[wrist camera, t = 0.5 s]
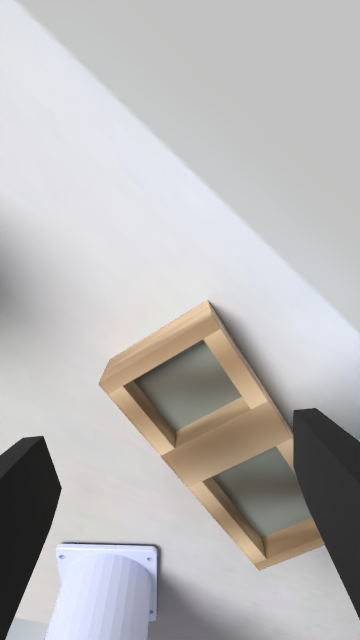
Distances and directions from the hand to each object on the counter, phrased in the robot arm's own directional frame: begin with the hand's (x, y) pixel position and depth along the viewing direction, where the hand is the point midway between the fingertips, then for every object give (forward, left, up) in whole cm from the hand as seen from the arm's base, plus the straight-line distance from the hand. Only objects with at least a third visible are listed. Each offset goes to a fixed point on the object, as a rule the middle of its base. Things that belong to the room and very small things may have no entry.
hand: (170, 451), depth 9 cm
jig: (-8, -4, -10) cm, 13 cm away
